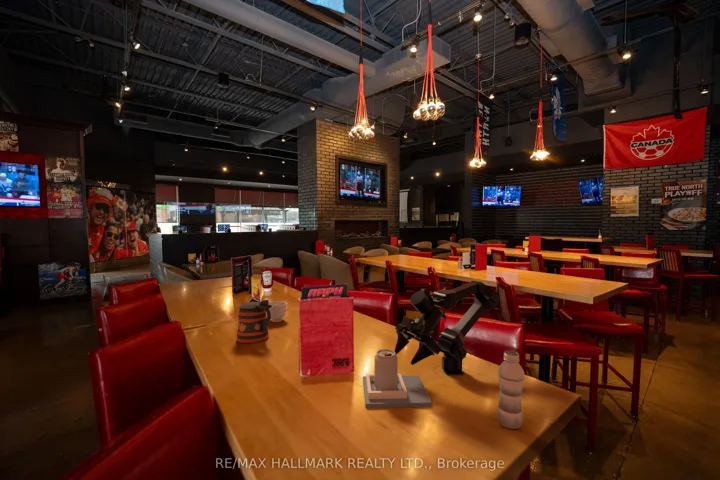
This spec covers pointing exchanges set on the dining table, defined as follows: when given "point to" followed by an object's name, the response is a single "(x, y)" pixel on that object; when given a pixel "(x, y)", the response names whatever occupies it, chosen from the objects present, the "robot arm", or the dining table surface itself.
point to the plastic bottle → (510, 391)
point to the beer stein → (253, 321)
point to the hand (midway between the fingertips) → (402, 358)
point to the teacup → (277, 310)
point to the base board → (396, 393)
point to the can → (386, 370)
